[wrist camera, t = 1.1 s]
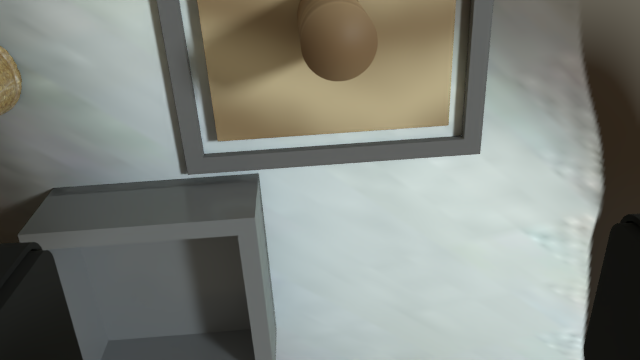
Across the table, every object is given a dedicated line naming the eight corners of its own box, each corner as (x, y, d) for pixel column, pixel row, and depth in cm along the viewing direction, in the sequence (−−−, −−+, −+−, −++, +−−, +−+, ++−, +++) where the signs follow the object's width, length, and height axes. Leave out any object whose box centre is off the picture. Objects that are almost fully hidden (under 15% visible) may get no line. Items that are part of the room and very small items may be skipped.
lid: (183, -123, 26) (151, -126, 20) (456, -138, 27) (511, -147, 20) (219, 133, 32) (204, 192, 26) (442, 117, 33) (481, 172, 26)
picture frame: (128, -172, 25) (125, -173, 24) (506, -192, 25) (511, -194, 25) (189, 170, 33) (188, 174, 32) (477, 150, 33) (479, 153, 33)
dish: (53, 188, 33) (17, 234, 28) (258, 173, 33) (254, 217, 29) (101, 342, 38) (77, 401, 34) (276, 328, 39) (275, 385, 34)
